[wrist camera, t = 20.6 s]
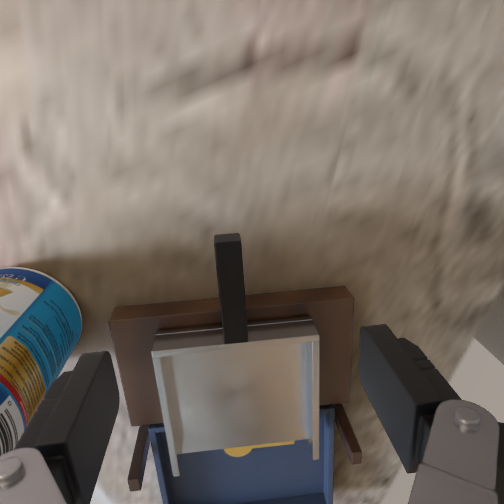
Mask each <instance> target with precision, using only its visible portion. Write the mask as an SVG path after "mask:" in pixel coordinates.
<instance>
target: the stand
mask: <svg viewBox="0 0 504 504" xmlns="http://www.w3.org/2000/svg"><path fill="white" fill-rule="evenodd" d="M245 301H246V314H247V323H248V322H258V321H268V320H279V319H289V318H299V317H309V316H311V318H312V320H313V322H314V324H315V327H316V329H317V331H318V333H319V406H320V405H329V404H338V403H347V402H350V383H351V358H352V332H353V306H354V298H353V296H352V295H351V293H350V292H349V290H348V289H347V288H346V286H341V287H331V288H320V289H309V290H298V291H288V292H277V293H266V294H255V295H245ZM108 322H109V327H110V331H111V336H112V340H113V345H114V349H115V354H116V359H117V363H118V368H119V372H120V377H121V381H122V386H123V390H124V395H125V400H126V404H127V409H128V413H129V418H130V422H131V426H140V425H147V426H140V427H139V431H138V436H137V440H136V445H135V449H134V453H133V458H132V462H131V466H130V471H129V475H128V484H129V489H130V491H138V490H141V487H142V481H143V476H144V471H145V466H146V460H147V455H148V450H149V444H150V436H149V431H148V427H149V424H158V423H164V421H163V416H162V410H161V405H160V399H159V393H158V388H157V382H156V376H155V371H154V365H153V359H152V354H151V351H152V347H153V343H154V339H155V335H156V332H157V331H165V330H176V329H186V328H196V327H206V326H217V325H222V318H221V308H220V298H212V299H202V300H191V301H180V302H169V303H159V304H148V305H137V306H126V307H116V308H115V309H114V311H113V313H112V315H111V317H110V319H109V321H108ZM334 408H335V421H336V424H337V427H338V429H339V432H340V435H341V438H342V440H343V443H344V446H345V448H346V451H347V454H348V456H349V459H350V462H351V464H360V463H361V460H362V451H361V449H360V446H359V444H358V441H357V439H356V437H355V434H354V432H353V429H352V427H351V425H350V422H349V420H348V417H347V415H346V413H345V410H344V408H343V405H342V404H338V405H334Z"/></svg>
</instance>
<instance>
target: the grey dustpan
mask: <svg viewBox="0 0 504 504" xmlns="http://www.w3.org/2000/svg"><path fill="white" fill-rule="evenodd" d="M214 248H215V258H216V268H217V278H218V288H219V298H220V308H221V318H222V325H217V326H206V327H196V328H186V329H176V330H165V331H157V332H156V335H155V339H154V343H153V347H152V351H151V354H152V359H153V365H154V371H155V376H156V382H157V388H158V393H159V399H160V405H161V410H162V416H163V421H164V427H165V433H166V438H167V444H168V450H169V455H170V461H171V466H172V472H173V476H174V477H175V476H180V469H181V458H182V454H183V453H192V452H201V451H209V450H218V449H227V448H235V447H244V446H252V445H261V444H270V443H278V442H287V441H296V440H304V439H307V440H308V444H309V447H310V451H311V455H312V458H313V460H317V459H319V333H318V331H317V329H316V327H315V324H314V322H313V320H312V318H311V316H309V317H299V318H289V319H279V320H268V321H258V322H248V323H247V314H246V301H245V287H244V273H243V260H242V246H241V238H240V234H239V233H234V234H222V235H215V236H214Z"/></svg>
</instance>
